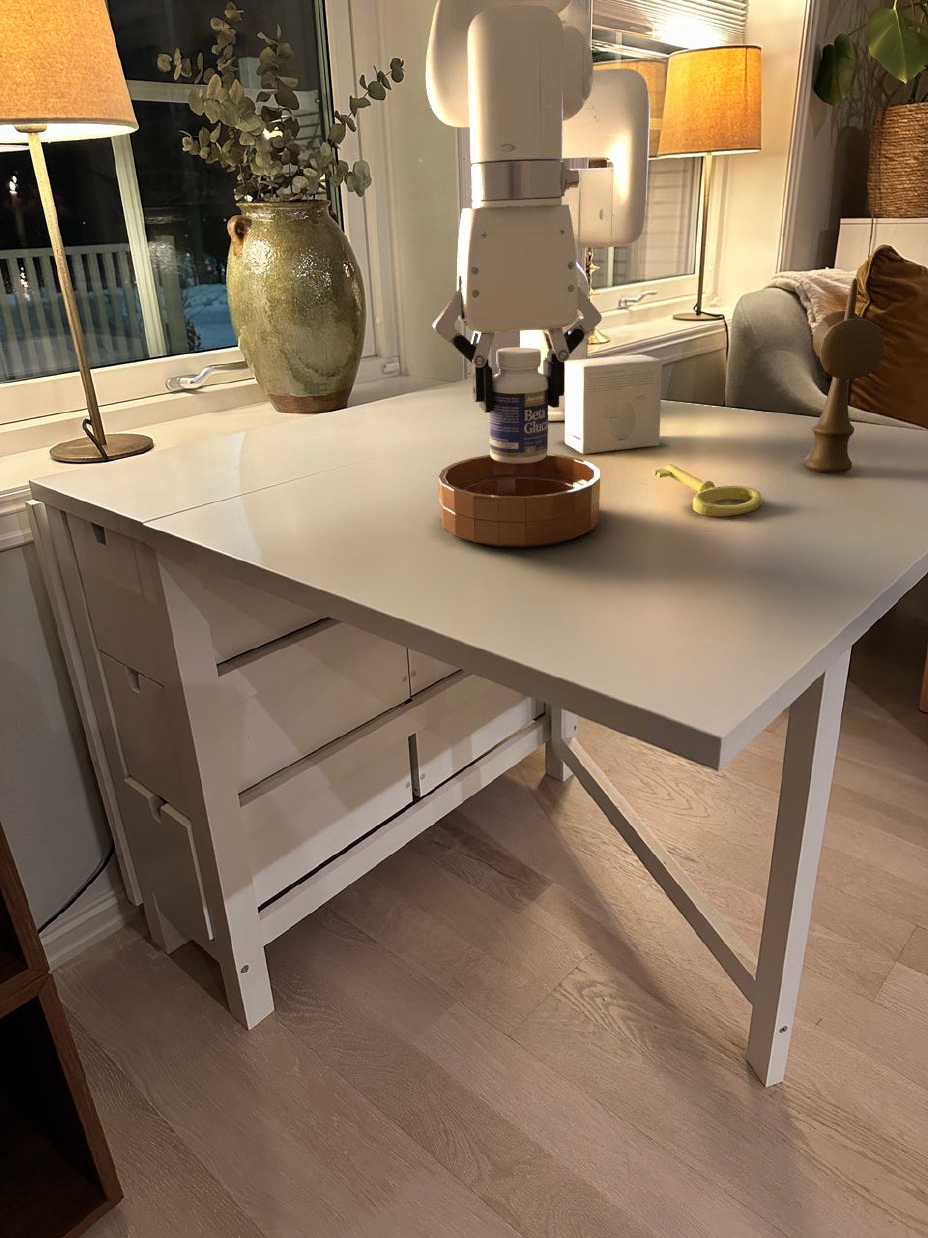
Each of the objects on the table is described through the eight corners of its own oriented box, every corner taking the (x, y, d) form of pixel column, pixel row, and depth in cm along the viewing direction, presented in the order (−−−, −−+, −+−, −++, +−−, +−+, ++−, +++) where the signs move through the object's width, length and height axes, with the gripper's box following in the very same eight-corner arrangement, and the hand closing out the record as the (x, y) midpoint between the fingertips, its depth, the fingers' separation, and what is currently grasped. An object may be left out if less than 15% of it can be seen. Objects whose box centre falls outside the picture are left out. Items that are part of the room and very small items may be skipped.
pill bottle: (531, 467, 80) (530, 356, 75) (479, 461, 82) (476, 353, 78) (557, 453, 84) (558, 346, 80) (508, 447, 86) (506, 344, 82)
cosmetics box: (637, 434, 116) (642, 351, 111) (660, 446, 110) (665, 359, 105) (562, 442, 113) (563, 358, 109) (581, 454, 108) (583, 366, 103)
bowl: (431, 506, 92) (428, 459, 89) (572, 494, 94) (573, 447, 92) (455, 558, 78) (453, 504, 76) (620, 542, 80) (622, 489, 78)
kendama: (803, 481, 95) (829, 282, 86) (794, 457, 103) (817, 274, 95) (863, 483, 93) (896, 282, 85) (849, 459, 102) (878, 273, 93)
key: (666, 481, 97) (667, 461, 96) (769, 504, 88) (772, 484, 87) (625, 496, 92) (626, 476, 91) (730, 523, 84) (733, 501, 83)
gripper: (601, 184, 78) (595, 393, 86) (408, 191, 75) (420, 405, 83) (631, 182, 71) (621, 408, 79) (420, 190, 69) (432, 423, 77)
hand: (518, 405), depth 81 cm, fingers closed on pill bottle, 5 cm apart
